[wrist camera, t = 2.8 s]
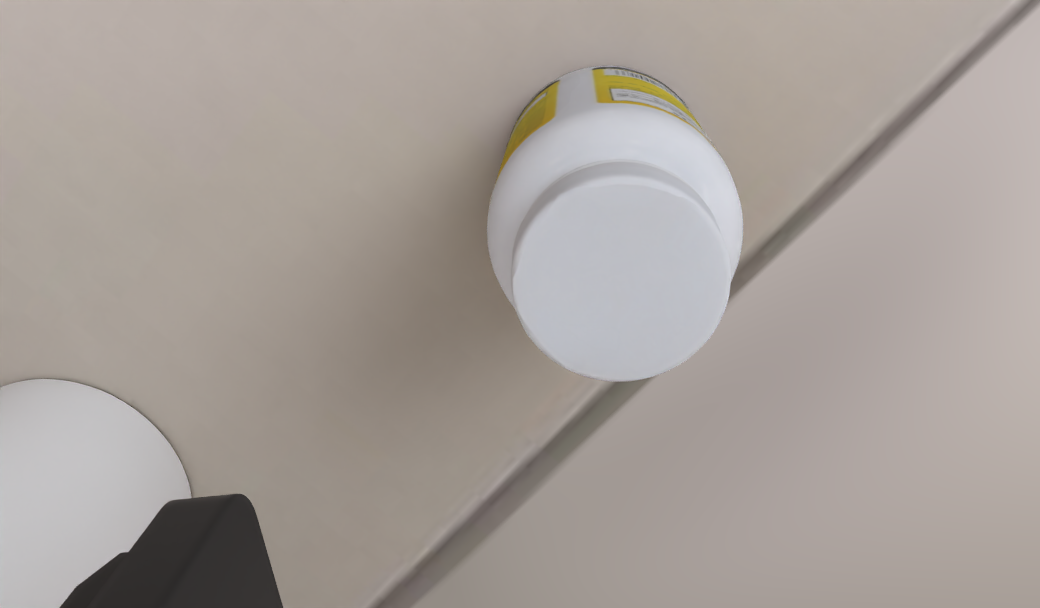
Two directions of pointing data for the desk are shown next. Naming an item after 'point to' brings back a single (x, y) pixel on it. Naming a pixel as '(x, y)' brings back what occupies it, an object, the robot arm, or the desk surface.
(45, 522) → the cup
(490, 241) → the supplement bottle
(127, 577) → the robot arm
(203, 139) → the desk surface
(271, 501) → the desk surface
